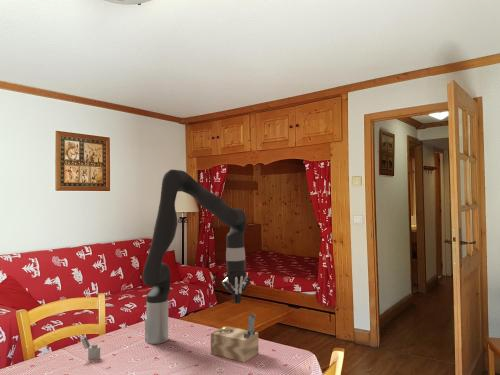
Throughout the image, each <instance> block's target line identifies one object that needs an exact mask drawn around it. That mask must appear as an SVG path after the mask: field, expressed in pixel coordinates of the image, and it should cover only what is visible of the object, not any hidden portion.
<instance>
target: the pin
mask: <svg viewBox="0 0 500 375" xmlns="http://www.w3.org/2000/svg"><path fill="white" fill-rule="evenodd" d="M230 327H231V326H228V325H224V326H221V328H222V333H226V334H228V333H230Z"/></svg>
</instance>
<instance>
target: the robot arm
mask: <svg viewBox="0 0 500 375" xmlns="http://www.w3.org/2000/svg"><path fill="white" fill-rule="evenodd" d="M160 189H161V191H160V199H159V206H158V211H157V214H156V218H155V219H156V220H155V224H154V227H153V233H152V238H151V239H152V240H151V243H150V246H149V251H148V254H147V258H146V260H145V263H144V266H143V272H142V280H143V283H144V285H145V286H147V287H151V290H150V291H149V292H148V293H147V294H146V299H145V300H146V317H145V318H144V341H146V343H147V344H150V345H158V344H164V343H166V342H167V341H169V295H170V293H171V277H172V276H171V269H170V267H169V265H168V264H167V263H165V262H163V259H164V257H165V254H166V252H167V251H168V249H169V247H170V246H171V245H172V243H173V241H174V240H175V236H176V232H177V227H178V215H177V211H176V206H175V205H176V199H177V194H178V192H182V193H185V194H187V195H189V196H191V197H192V198H194V199H195V200H196V201H197V203H198V205H200V206H201V207H203V208H204V209H205V210H206V211H208V212H210V214H212V215H214V216H215V217H216V218H217V219H218V220H219V221H220V222H221V223H222V224H224V225H226V226H228V227H229V228H230V229H229V231H228V233H227V234H226V237H225V238H226V239H225V242H226V245H225V246H226V251H225V261H226V272H227V273H226V275H225V276H226V278H225V279H224V280H221V283H220V284H222V286H223V287H224V288H225V289H226V291H227V292H228V293H231V294H232V301H233V303H234V304H236V305H238V304H241V301H242V293H243V292H245V291H246V290H247V288H248V286H249V284H250V282H251V281H252V278H251V277H249V276H248V275H247V273H246V268H247V267H246V251H245V233H246V232H245V230H246V225H247V216H246V213H245V211H244V210H243V209H242V208H239V207H238V208H236V207H235V208H232V207H230V206H229V205H227V202H226V201H225V200H224V199H222V198H221V197H220V196H218V195H216V194H214V193H213V192H211V191H209V190H208V189H206V188H205V187H204V186H203V185H201V184H200V183H199V182H197V181H196V180H195V178H193V177H192V176H191V175H190V174H189V173H187V172H186V171H185V170H181V169H168V170H167V171H166V172H164V174H163V177H162V181H161V188H160Z"/></svg>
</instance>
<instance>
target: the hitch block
mask: <svg viewBox="0 0 500 375" xmlns="http://www.w3.org/2000/svg"><path fill="white" fill-rule="evenodd" d="M229 327H230V333H228V334H226V333H222V327H221V328H219V329H217V330H214V331H212V332H210V354H212V355H215V356H219V357H223V358H227V359H230V360H234V361H238V362H241V363H246V362H248V361H249V360H251V359H252V358H253V357H255V356H257V355H258V354H259V353H260V352H259V332H256V330H255V329H254V332H253V335H251V336H249V334H248V329H243V328H239V327H232V326H229Z"/></svg>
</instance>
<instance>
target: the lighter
mask: <svg viewBox="0 0 500 375" xmlns="http://www.w3.org/2000/svg"><path fill="white" fill-rule="evenodd" d="M80 341H81V343H82V346H83V348H84V349H85V350H88V351H87V352H88V354H87V358H88V360H99V359H101V346H98V344H97V343H94V344H93V343H92V344H91V345H90V342H89V340H88V338H87V336H84V337H82V338H81V339H80Z"/></svg>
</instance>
